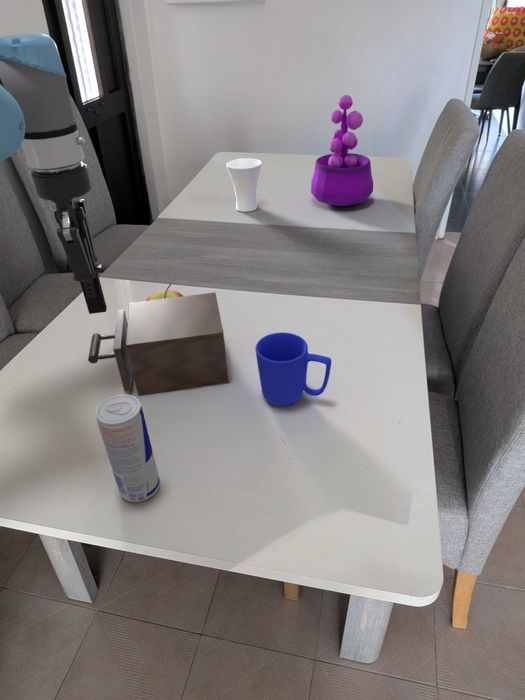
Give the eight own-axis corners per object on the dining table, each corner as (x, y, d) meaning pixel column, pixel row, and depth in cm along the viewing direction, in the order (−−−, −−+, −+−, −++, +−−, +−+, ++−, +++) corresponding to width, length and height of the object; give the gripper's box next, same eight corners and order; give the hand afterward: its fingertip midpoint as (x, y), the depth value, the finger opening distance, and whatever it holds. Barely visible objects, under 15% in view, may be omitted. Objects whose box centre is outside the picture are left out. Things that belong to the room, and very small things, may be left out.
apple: (194, 334, 102) (188, 290, 97) (152, 344, 100) (143, 300, 95) (185, 314, 109) (178, 272, 103) (145, 323, 107) (136, 280, 101)
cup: (254, 216, 152) (251, 169, 144) (223, 212, 156) (219, 166, 148) (269, 204, 160) (267, 159, 152) (239, 200, 164) (236, 156, 156)
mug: (322, 421, 81) (324, 371, 75) (251, 405, 85) (247, 356, 79) (335, 389, 87) (337, 340, 81) (268, 375, 91) (265, 328, 85)
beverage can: (167, 491, 71) (148, 410, 62) (129, 511, 69) (104, 430, 60) (150, 466, 75) (130, 387, 66) (113, 484, 73) (88, 404, 64)
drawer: (94, 395, 87) (81, 353, 82) (100, 353, 97) (89, 313, 92) (209, 379, 89) (203, 337, 84) (203, 339, 99) (198, 300, 94)
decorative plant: (373, 192, 164) (382, 88, 147) (370, 214, 150) (379, 101, 132) (315, 190, 168) (316, 89, 151) (305, 211, 154) (306, 101, 136)
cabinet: (138, 395, 88) (125, 345, 82) (140, 350, 99) (129, 302, 93) (228, 382, 90) (223, 332, 84) (220, 339, 101) (215, 292, 95)
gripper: (80, 176, 67) (118, 328, 80) (90, 150, 77) (123, 289, 91) (20, 182, 66) (69, 335, 80) (38, 155, 76) (79, 294, 90)
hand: (98, 310), depth 85 cm, fingers closed
